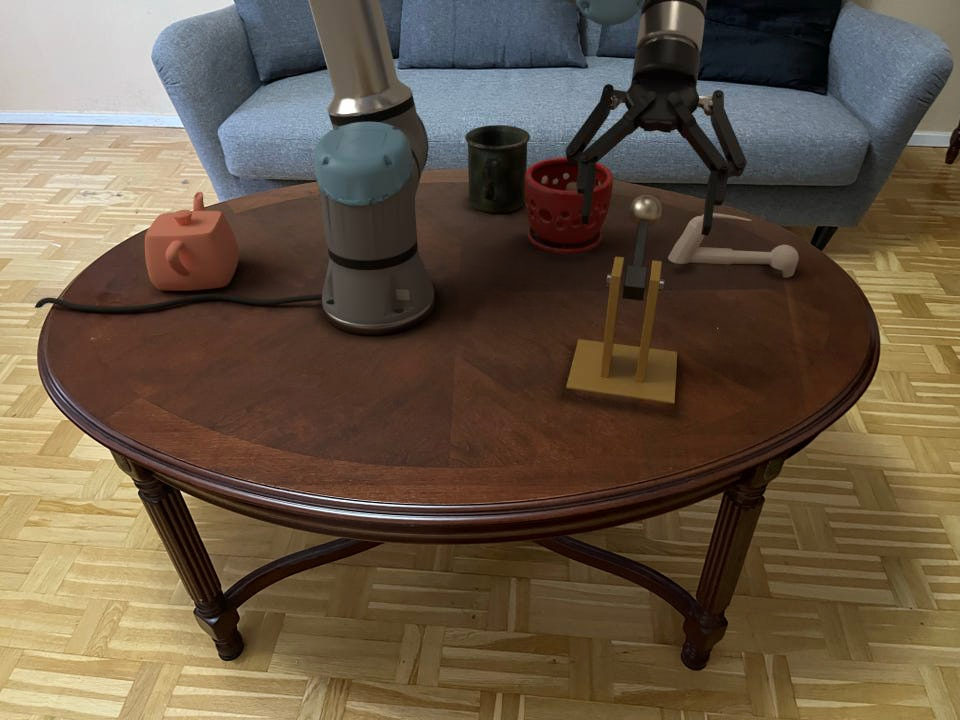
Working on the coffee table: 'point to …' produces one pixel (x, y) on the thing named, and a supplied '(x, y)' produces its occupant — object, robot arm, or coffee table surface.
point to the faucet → (729, 251)
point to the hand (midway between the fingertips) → (644, 225)
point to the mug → (497, 167)
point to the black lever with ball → (640, 244)
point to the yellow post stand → (626, 353)
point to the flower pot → (564, 207)
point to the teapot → (191, 249)
